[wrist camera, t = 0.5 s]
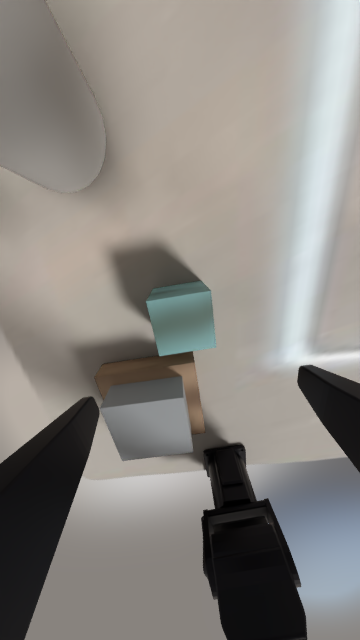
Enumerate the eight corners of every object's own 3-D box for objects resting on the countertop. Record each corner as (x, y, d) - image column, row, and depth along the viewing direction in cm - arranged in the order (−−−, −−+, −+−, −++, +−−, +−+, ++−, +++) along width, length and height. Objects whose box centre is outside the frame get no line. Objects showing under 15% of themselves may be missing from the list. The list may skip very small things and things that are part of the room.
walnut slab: (202, 412, 25) (205, 432, 22) (128, 423, 25) (122, 444, 23) (191, 347, 21) (194, 362, 18) (104, 361, 21) (94, 377, 19)
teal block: (206, 324, 20) (216, 347, 15) (162, 331, 20) (159, 356, 15) (201, 280, 18) (210, 290, 13) (153, 288, 18) (146, 301, 13)
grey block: (190, 426, 22) (193, 452, 19) (128, 434, 22) (122, 460, 19) (182, 376, 19) (183, 397, 16) (110, 385, 19) (99, 408, 16)
